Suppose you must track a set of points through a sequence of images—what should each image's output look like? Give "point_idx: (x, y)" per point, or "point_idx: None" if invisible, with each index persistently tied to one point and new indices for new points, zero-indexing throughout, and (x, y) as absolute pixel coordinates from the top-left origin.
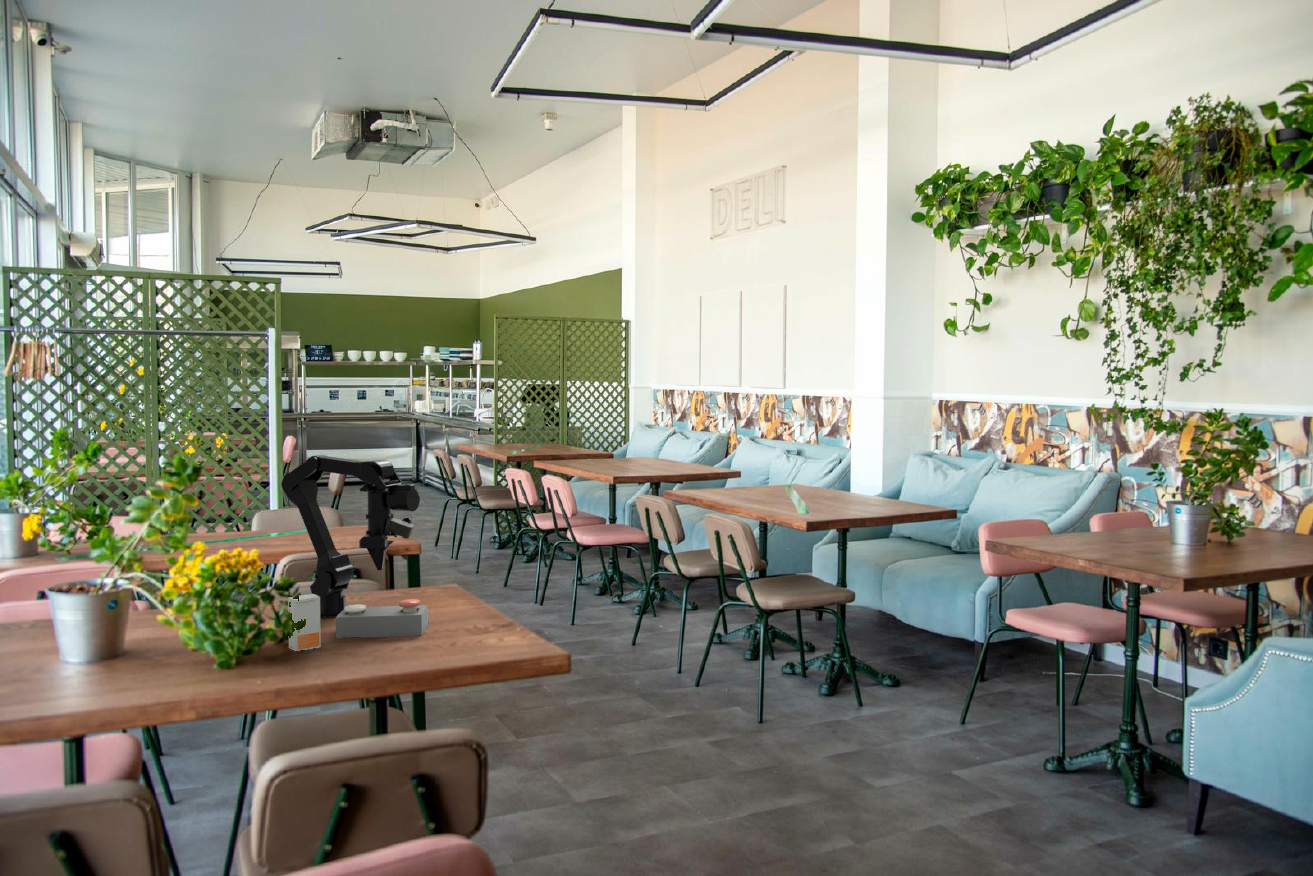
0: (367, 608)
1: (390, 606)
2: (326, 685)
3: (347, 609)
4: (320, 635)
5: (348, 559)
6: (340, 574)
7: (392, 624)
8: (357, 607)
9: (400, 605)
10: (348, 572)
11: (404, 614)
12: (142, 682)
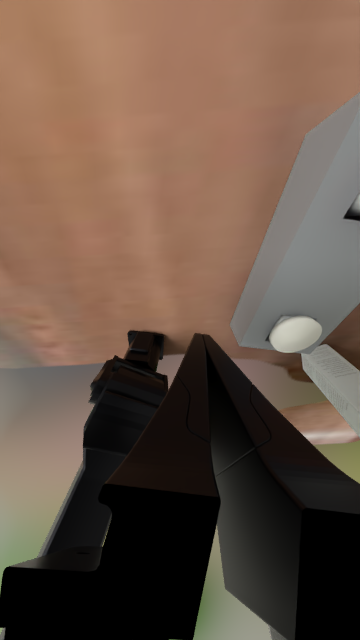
0: (271, 312)
1: (284, 260)
2: None
3: (305, 347)
4: (341, 356)
5: (92, 422)
6: (151, 397)
7: None
8: (307, 333)
9: None
10: (124, 387)
11: None
12: (322, 422)
